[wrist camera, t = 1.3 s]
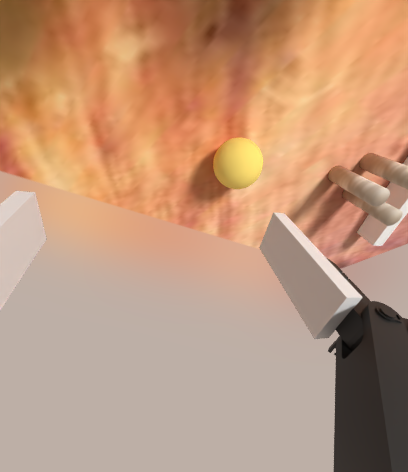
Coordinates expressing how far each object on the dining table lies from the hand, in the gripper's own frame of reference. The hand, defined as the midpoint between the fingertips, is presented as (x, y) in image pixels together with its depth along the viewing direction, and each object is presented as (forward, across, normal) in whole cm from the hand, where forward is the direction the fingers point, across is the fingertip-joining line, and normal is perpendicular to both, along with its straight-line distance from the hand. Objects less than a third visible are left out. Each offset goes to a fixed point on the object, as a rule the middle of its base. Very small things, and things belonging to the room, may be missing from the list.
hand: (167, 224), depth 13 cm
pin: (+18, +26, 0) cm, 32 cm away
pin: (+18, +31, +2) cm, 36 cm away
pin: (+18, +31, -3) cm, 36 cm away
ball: (+15, +9, 0) cm, 18 cm away
